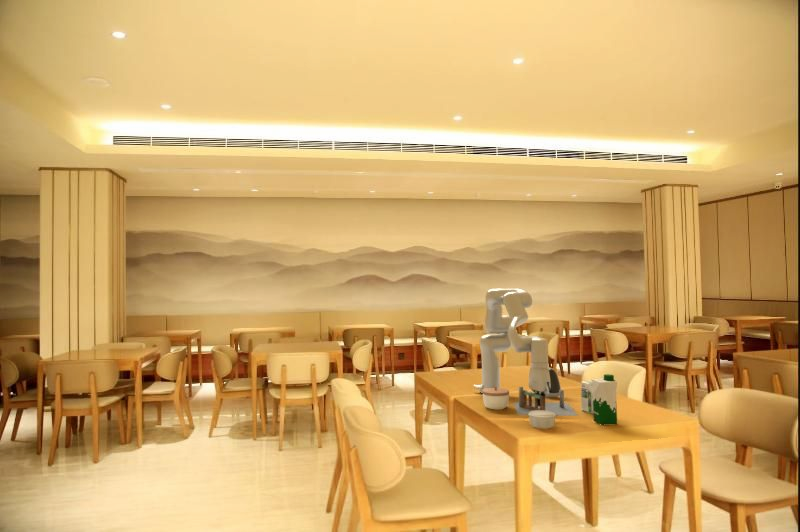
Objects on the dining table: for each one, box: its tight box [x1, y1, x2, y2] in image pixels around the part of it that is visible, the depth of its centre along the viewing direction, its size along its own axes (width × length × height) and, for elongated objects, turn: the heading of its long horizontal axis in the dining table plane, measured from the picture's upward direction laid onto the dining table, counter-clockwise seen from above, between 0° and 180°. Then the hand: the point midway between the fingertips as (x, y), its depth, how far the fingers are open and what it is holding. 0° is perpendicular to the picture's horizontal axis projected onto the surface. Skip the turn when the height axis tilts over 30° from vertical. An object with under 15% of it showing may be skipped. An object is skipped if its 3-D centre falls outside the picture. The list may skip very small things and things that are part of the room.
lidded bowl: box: [482, 386, 510, 411], centre depth 249 cm, size 13×13×11 cm
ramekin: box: [527, 410, 557, 430], centre depth 220 cm, size 11×11×5 cm
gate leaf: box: [522, 389, 546, 411], centre depth 240 cm, size 16×2×8 cm, turn 22°
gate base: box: [513, 386, 579, 417], centre depth 245 cm, size 26×24×10 cm
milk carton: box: [591, 374, 618, 426], centre depth 224 cm, size 9×9×20 cm
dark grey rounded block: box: [545, 367, 562, 399], centre depth 272 cm, size 10×10×15 cm
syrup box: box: [580, 380, 593, 414], centre depth 238 cm, size 6×6×14 cm
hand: (540, 405), depth 239 cm, fingers closed
